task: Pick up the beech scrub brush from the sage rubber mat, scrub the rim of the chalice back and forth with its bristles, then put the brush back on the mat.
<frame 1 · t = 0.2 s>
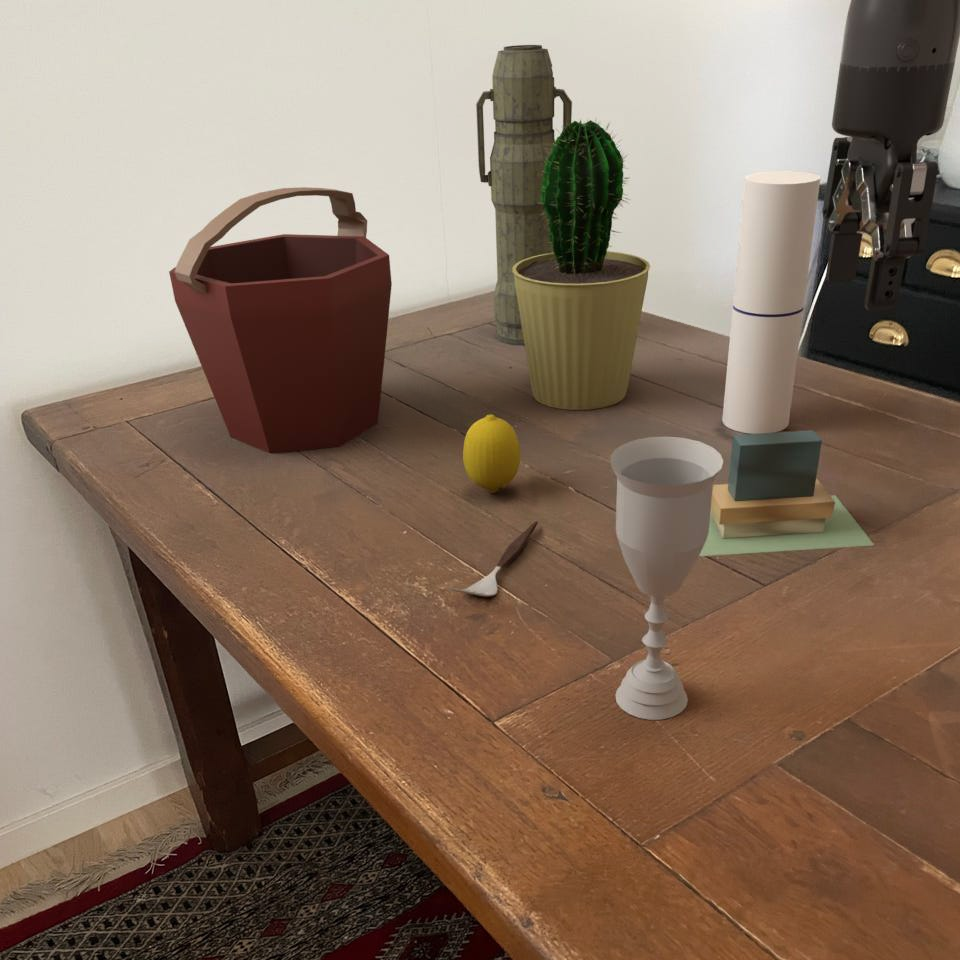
hand: (858, 295, 80), 21 cm above the table, tool pointing down, fingers open, 8 cm apart
lemon: (493, 494, 101), on the table
cylindrical container: (755, 423, 113), on the table
chalice: (651, 699, 72), on the table
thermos: (527, 336, 143), on the table
bucket: (309, 426, 118), on the table
mat: (765, 528, 92), on the table
potted cactus: (579, 394, 123), on the table
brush: (766, 524, 92), resting on mat
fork: (503, 568, 89), on the table
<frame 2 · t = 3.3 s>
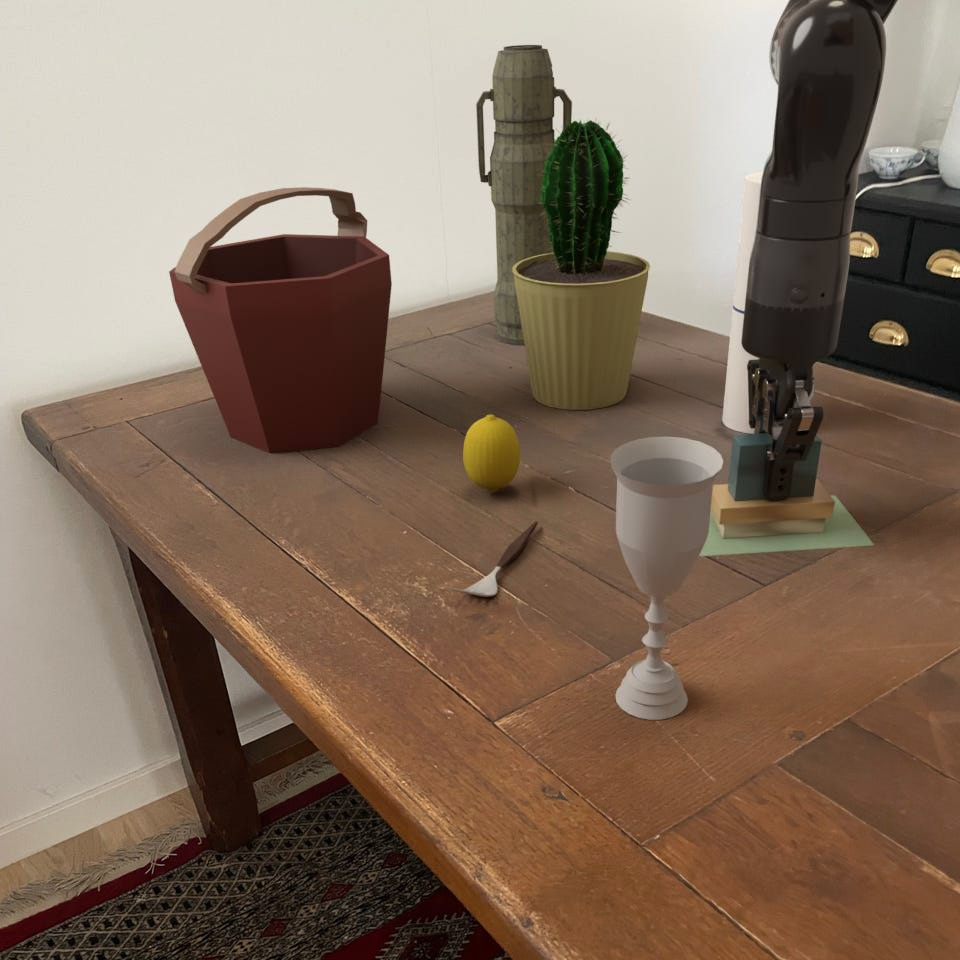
hand: (770, 489, 90), 4 cm above the table, tool pointing down, fingers closed on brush, 2 cm apart
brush: (766, 524, 92), resting on mat, touching gripper
everything else where it was.
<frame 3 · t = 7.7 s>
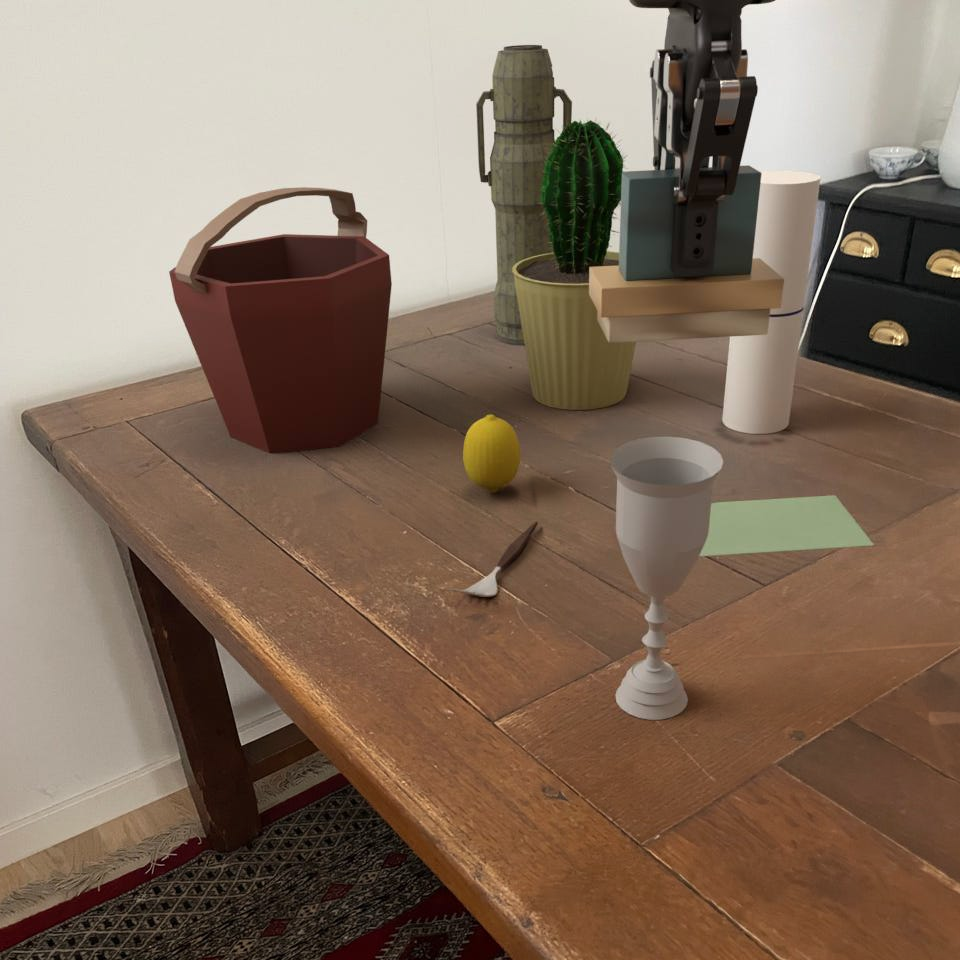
hand: (685, 267, 57), 29 cm above the table, tool pointing down, fingers closed on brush, 2 cm apart
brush: (679, 327, 59), point 26 cm above the table, touching gripper
everything else where it was.
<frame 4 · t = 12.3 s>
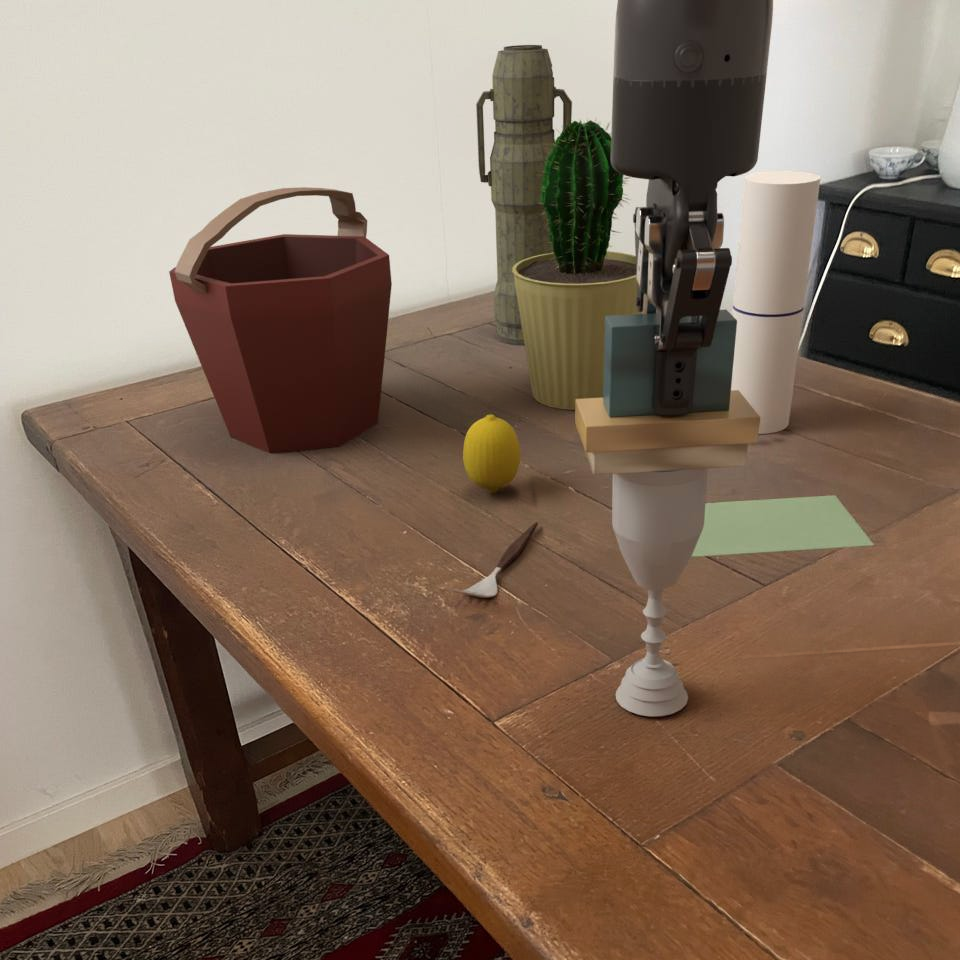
hand: (666, 402, 60), 22 cm above the table, tool pointing down, fingers closed on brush, 2 cm apart
chalice: (651, 698, 72), on the table, touching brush
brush: (662, 457, 62), point 18 cm above the table, touching chalice, gripper
everything else where it was.
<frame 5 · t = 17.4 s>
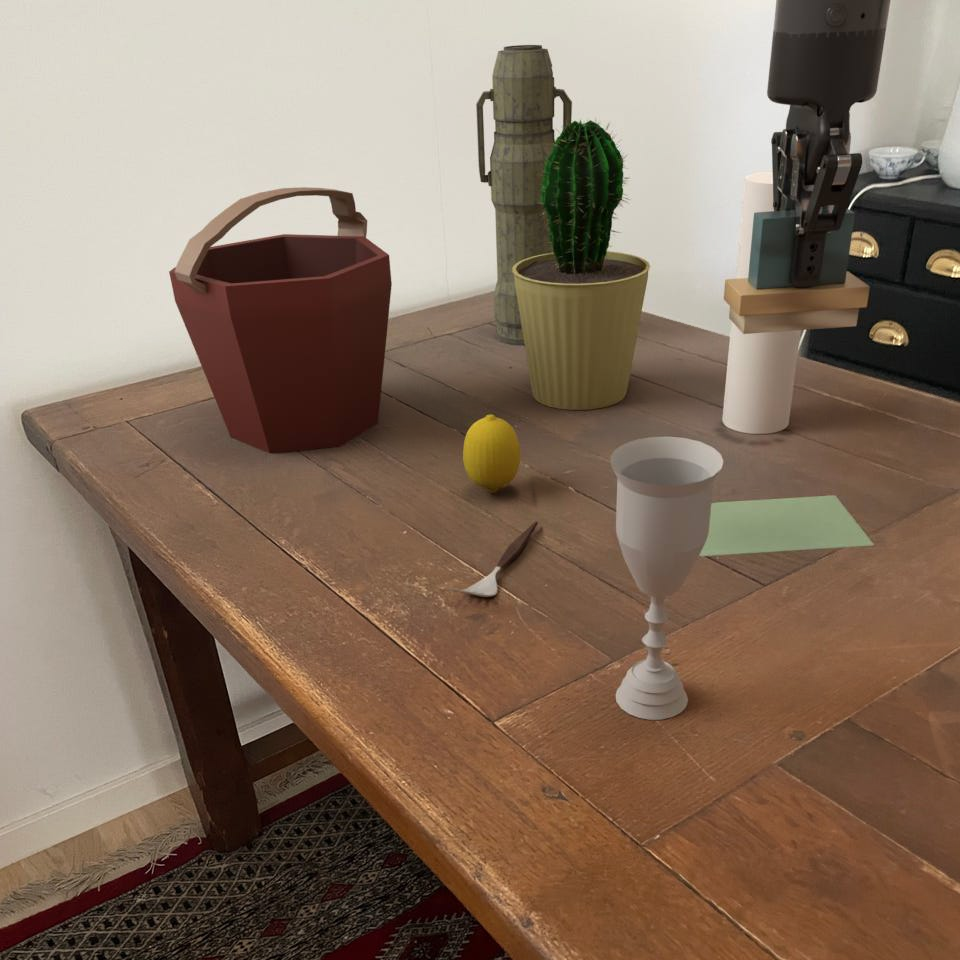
hand: (797, 279, 80), 22 cm above the table, tool pointing down, fingers closed on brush, 2 cm apart
chalice: (651, 699, 72), on the table
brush: (791, 322, 82), point 19 cm above the table, touching gripper
everything else where it was.
when the fingers open (4 cm above the table, at t = 21.6 s): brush stays where it is, resting on mat.
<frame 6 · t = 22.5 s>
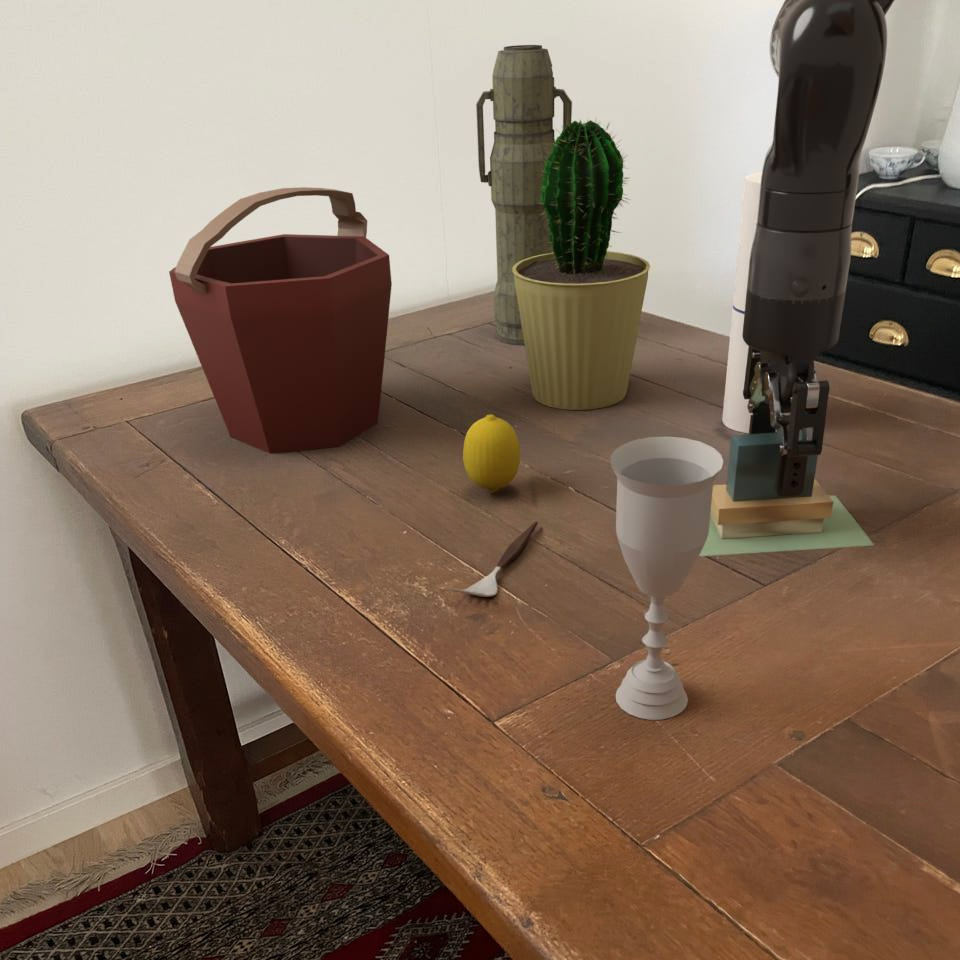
hand: (773, 473, 89), 5 cm above the table, tool pointing down, fingers open, 8 cm apart
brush: (764, 524, 92), resting on mat
everything else where it was.
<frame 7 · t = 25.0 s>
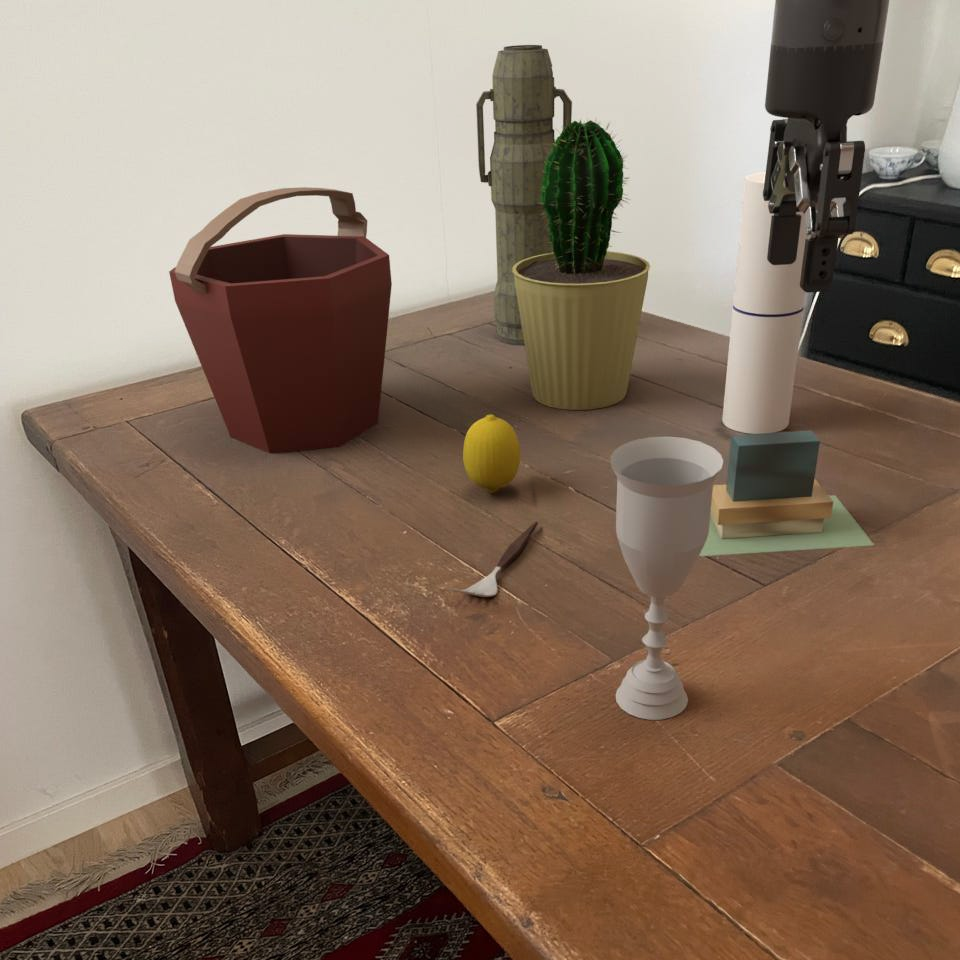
hand: (797, 276, 80), 22 cm above the table, tool pointing down, fingers open, 8 cm apart
nothing on the table moved.
at the end: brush 0.2 cm off-centre on the mat, point 0.4 cm above the mat's base; chalice tilted 0°; chalice moved 0.2 cm from its start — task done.
